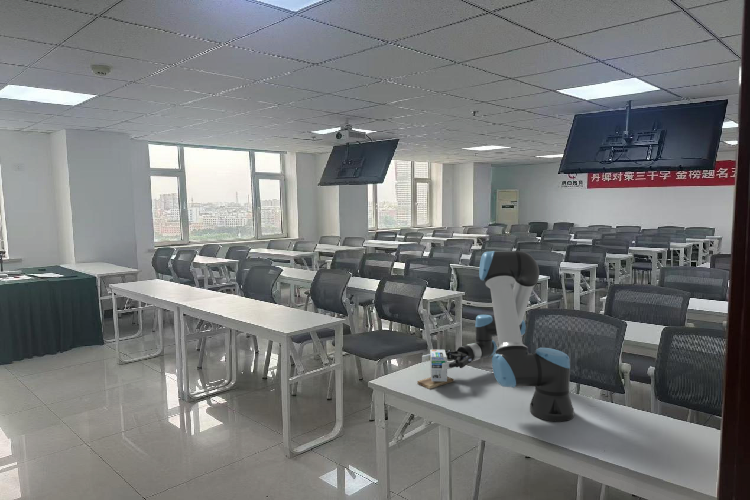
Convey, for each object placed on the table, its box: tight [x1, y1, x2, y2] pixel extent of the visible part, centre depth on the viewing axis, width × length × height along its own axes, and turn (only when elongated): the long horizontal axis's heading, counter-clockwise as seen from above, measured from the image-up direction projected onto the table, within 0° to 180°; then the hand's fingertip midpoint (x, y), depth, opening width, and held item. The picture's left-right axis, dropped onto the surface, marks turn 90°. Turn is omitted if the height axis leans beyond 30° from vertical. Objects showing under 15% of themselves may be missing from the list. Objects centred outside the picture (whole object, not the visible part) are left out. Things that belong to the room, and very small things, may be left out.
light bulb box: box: [429, 348, 448, 382], centre depth 211 cm, size 11×7×11 cm, turn 176°
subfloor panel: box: [417, 375, 455, 390], centre depth 213 cm, size 8×14×1 cm, turn 125°
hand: (432, 362), depth 209 cm, fingers closed on light bulb box, 12 cm apart
